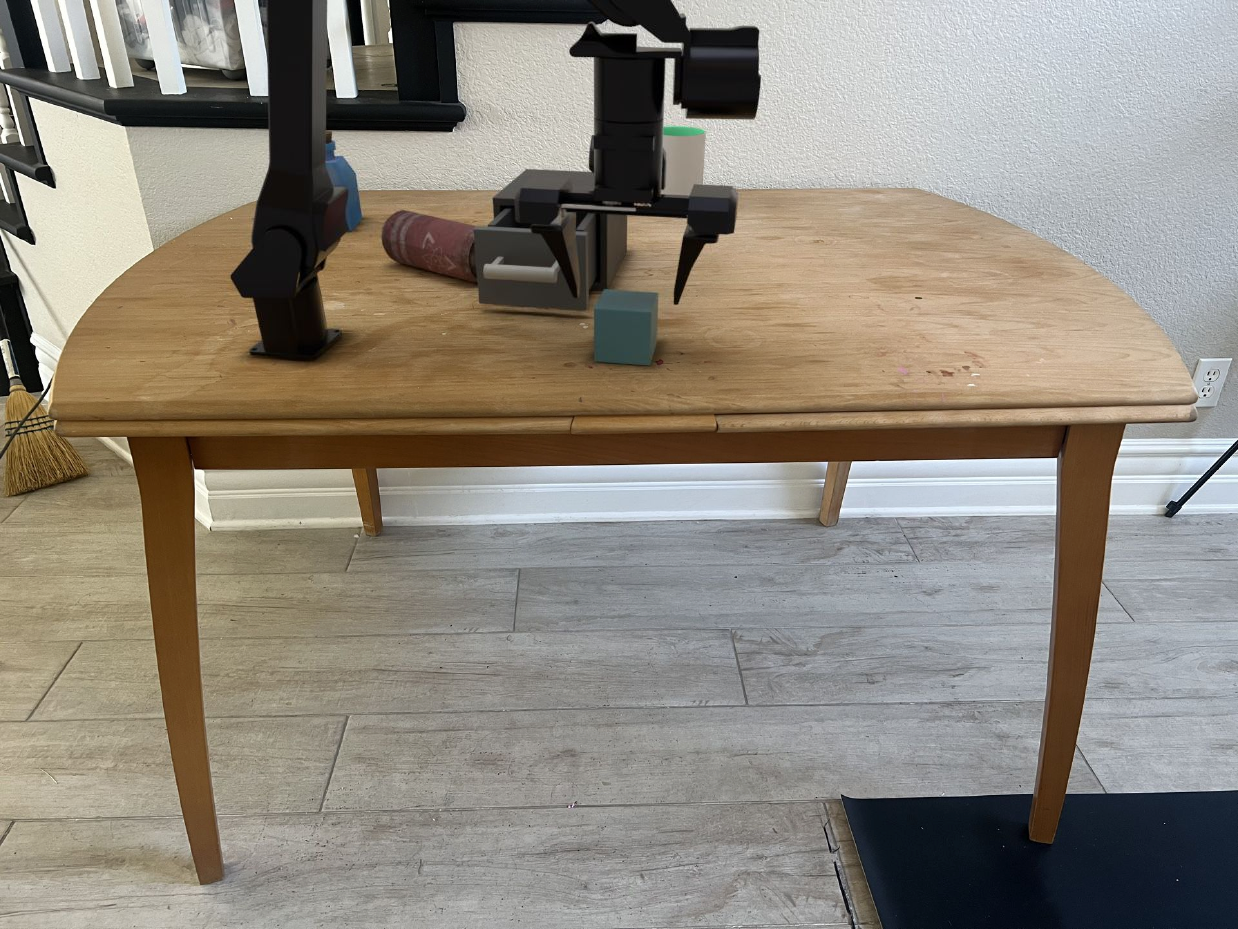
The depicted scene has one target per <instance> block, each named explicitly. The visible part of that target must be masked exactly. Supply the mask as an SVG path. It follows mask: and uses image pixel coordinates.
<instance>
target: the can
mask: <svg viewBox="0 0 1238 929" xmlns="http://www.w3.org/2000/svg"><path fill="white" fill-rule="evenodd" d="M476 226H477V225H473V224H469V223H466V222H465V223H464V222H460V221H456V220H451V219H447V218H442V217H438V216H433V215H428V214H424V213H420V212H416V211H411V210H405V209H400V210H397V211H395V212H394V213H392V214H391V215H389V217H388V218H387V219H386V220H385V221H384V224H383V226H382V230H381V237H380V238H381V245H382V247H383V250H384V252H385V253H386V255H387V256H388V257H389V258H390V259H391V260H393V261H394V262H396V263H399V264H404V265H407V266H410V267H415V268H419V269H421V270H422V269H423V270H425V271H431V272H434V273H436V274H437V273H438V274H442V275H445V276H448V277H453V278H457V279H460V280H464V281H468V282H472V283H478V282H477V269H476V256H475V244H474V231H473V229H474V228H475V227H476Z"/></svg>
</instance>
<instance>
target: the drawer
mask: <svg viewBox="0 0 1238 929" xmlns="http://www.w3.org/2000/svg"><path fill="white" fill-rule="evenodd" d="M475 226H476V227H475V228H474V229H473V231H474V244H475V256H476V269H477V282H476V283H477V292H478V302H479V304H480V305H493V306H510V307H523V308H524V307H526V308H539V309H541V308H542V309H555V310H568V311H569V310H571V311H585V312H586V311H587V310H588V309H589V305H590V304H589V302H590V301H589V291H590V290H591V289H590V288H591V286H592V285H593V283H594V281H595V279H596V277H597V276H598V274H599V272H600V214H592V213H576V244H577V253H578V263H579V272H580V295H579V297H578V298H573V296H572V293H571V291H570V289H569V287H568V284H567V282H566V280H565V278H564V276H563V273H562V271H561V269H560V267H559V265H558V262H557V260H556V259H555V257H554V255H553V254H552V252H551V250H550V249H549V247H548V245H547V244H546V242H545V240H544V239H543V237H542V236H541V235H540V234H534V233H532V232H531V226H532V224H523V223H518V222H516V221H515V206H507V207H506V208H505V209H504V210H503V211H502V212H501V213H500V214H499V215H498V216H497V217H495V218H494V217H493V219H492V220H491V221H490V222H489V223H488V224H487V226H485V225H484V226H483V225H475Z"/></svg>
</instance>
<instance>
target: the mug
mask: <svg viewBox="0 0 1238 929" xmlns="http://www.w3.org/2000/svg"><path fill="white" fill-rule="evenodd" d="M706 135H707V131H706V130H705V129H702V128H699V127H693V126H683V125H682V126H681V125H668V126H667V125H666V126H663V148H664V150H665V152H666V160H667V162H666V187H665V189H664V190H661V194H668V195H689V196H690V193H691V191H692V188H693V185H694V184H701V185H704V174H705V173H704V170H705V154H706V137H707V136H706ZM647 206H651V205H650V204H647Z"/></svg>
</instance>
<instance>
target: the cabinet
mask: <svg viewBox="0 0 1238 929" xmlns="http://www.w3.org/2000/svg"><path fill="white" fill-rule="evenodd" d="M533 177H552V178H570V179H571V182H572V186H573V190H587V191H594V173H592V172H591V171H581V170H561V169H560V170H559V169H558V170H557V169H537V168H536V169H535V168H526V169H524V170H523V171H522V172H521V173H520V174H519V175H518V176H517V177H515V178H513V180H511V182H509V183H508V184H507V185H506V186H505V187H503V188H502V189H501V190H500V191H499V192H498V193H496V194H495V195H494V196H493V197H492V212H493V219H494V218H495V217H497V216H498V215H499V214H500V213H501V212H502V211H503V210H504V209H505V208H506V207H507V206H515V204H514V202H515V196H516V193H517V192H518V191H519V190H520V189H521V188H522V187H523V186H524V185H525V184H526V183H527V182H528V181H529V180H531V179H532V178H533ZM605 204H619V205H621V203H618V202H610V201H605ZM627 252H628V215H611V214H600V272H599V274H598V276H597V277H596V279H595V281H594V283H593V285H592V286H591V288H590V290H594V291H603V290H604V289H608V290H609V288H610V285H611V284H612V282H613V280H614V278H615V276H616V274H617V272H618V270H619V268H620V266H621V264H622V262H623V260H624V258H625V256H626V254H627Z"/></svg>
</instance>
